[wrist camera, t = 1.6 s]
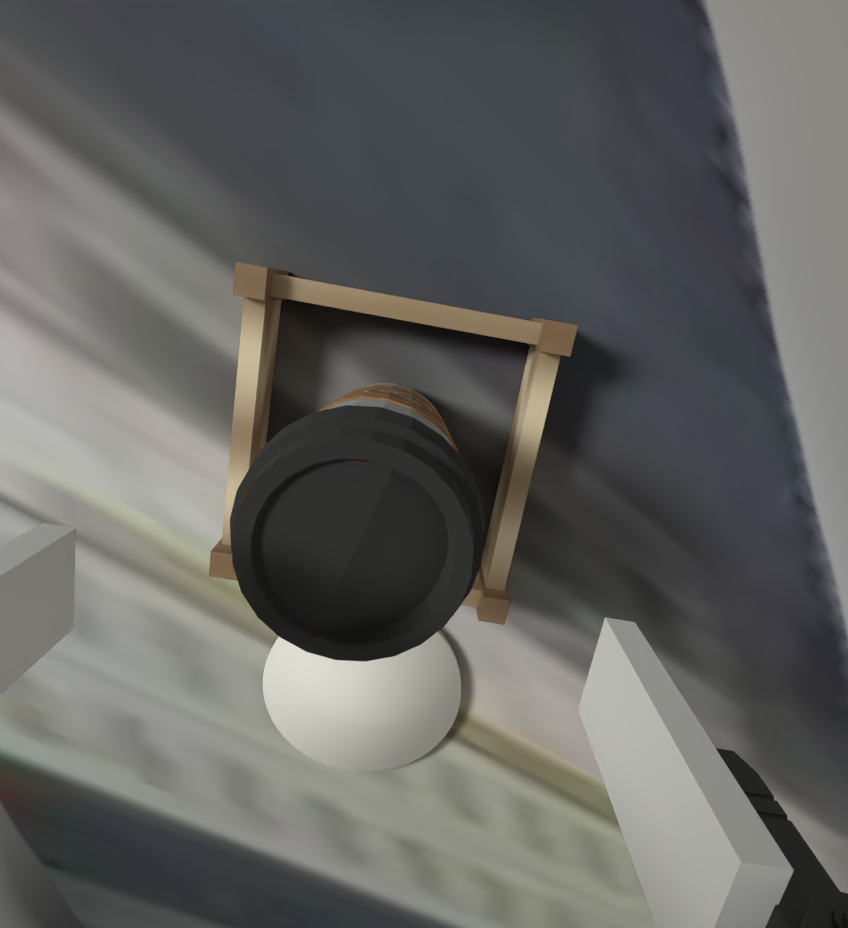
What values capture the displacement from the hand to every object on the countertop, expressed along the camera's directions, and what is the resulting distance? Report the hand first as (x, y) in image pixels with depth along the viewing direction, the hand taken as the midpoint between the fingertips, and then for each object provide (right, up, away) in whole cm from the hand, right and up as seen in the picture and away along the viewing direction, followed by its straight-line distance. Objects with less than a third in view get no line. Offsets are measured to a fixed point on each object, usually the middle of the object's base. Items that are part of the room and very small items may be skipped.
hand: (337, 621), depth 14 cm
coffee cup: (0, +5, +18) cm, 18 cm away
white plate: (-2, -10, +22) cm, 24 cm away
